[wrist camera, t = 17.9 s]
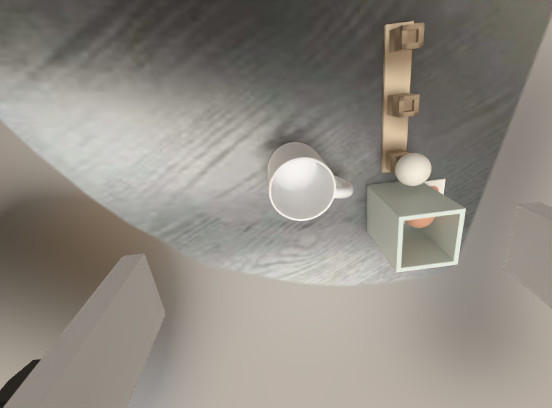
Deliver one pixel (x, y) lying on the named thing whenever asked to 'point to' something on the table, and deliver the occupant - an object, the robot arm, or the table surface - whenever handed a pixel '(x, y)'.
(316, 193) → the mug
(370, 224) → the grey-green tall hollow box
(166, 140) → the table surface
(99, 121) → the table surface
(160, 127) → the table surface
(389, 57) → the rack
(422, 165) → the ball
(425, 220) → the ball
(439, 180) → the card
